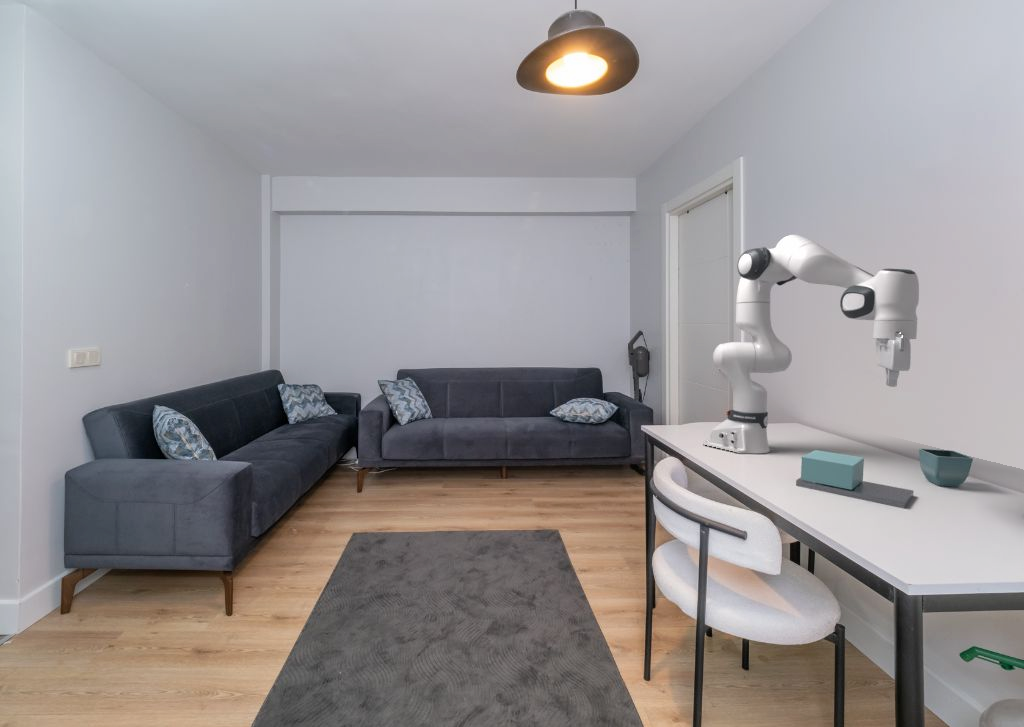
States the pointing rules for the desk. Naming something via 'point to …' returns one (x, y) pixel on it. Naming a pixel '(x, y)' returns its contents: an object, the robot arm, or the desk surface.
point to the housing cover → (832, 469)
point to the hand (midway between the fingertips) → (891, 386)
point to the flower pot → (945, 466)
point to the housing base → (866, 492)
